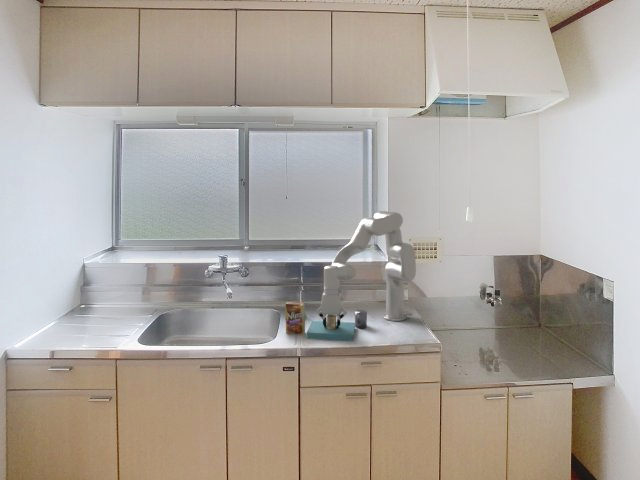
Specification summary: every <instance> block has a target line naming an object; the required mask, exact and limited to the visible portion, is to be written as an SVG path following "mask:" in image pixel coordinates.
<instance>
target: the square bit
mask: <svg viewBox="0 0 640 480" xmlns="http://www.w3.org/2000/svg"><path fill="white" fill-rule="evenodd" d="M326 316H327V317H326V321H327V329H330V330H336V322H337V315H334V314H327V315H326Z"/></svg>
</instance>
